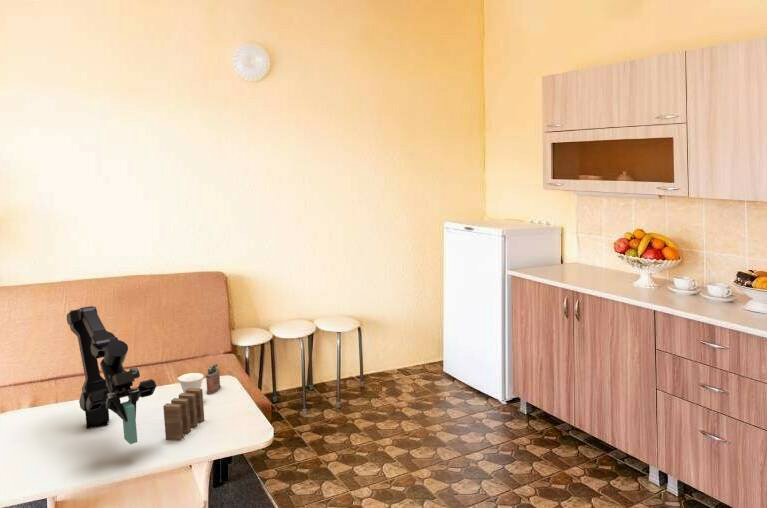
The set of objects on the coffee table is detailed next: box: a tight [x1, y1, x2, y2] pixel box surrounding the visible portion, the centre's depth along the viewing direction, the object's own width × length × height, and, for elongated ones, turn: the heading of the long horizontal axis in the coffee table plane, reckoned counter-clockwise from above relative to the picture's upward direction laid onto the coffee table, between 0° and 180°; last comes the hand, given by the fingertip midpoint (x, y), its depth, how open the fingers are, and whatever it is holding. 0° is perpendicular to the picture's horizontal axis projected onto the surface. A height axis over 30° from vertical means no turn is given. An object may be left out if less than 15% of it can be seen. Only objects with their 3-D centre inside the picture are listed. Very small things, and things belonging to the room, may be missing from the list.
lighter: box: [205, 362, 222, 396], centre depth 230 cm, size 8×3×10 cm, turn 168°
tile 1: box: [186, 388, 205, 424], centre depth 202 cm, size 2×5×11 cm, turn 79°
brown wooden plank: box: [178, 392, 199, 429], centre depth 197 cm, size 2×5×11 cm, turn 79°
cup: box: [176, 372, 205, 393], centre depth 218 cm, size 9×9×10 cm
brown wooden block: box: [170, 397, 192, 435], centre depth 193 cm, size 2×5×11 cm, turn 79°
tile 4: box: [162, 403, 185, 441], centre depth 189 cm, size 2×5×11 cm, turn 79°
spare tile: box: [121, 401, 138, 445], centre depth 175 cm, size 2×5×11 cm, turn 41°
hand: (130, 420), depth 174 cm, fingers closed on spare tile, 2 cm apart
